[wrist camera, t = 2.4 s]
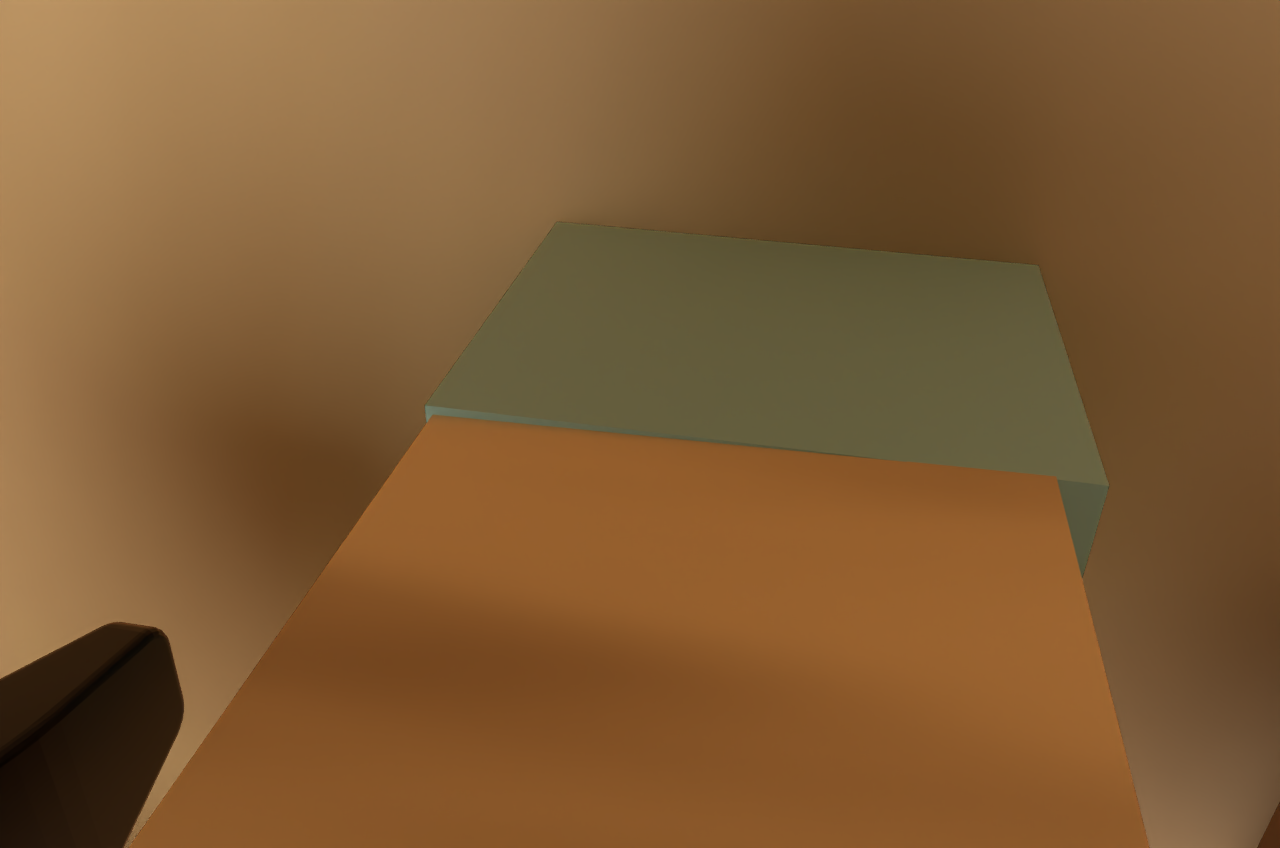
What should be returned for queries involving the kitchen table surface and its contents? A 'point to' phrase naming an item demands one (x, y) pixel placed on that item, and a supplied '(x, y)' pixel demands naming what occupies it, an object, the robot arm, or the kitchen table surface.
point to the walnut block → (1272, 832)
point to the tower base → (787, 355)
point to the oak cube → (674, 661)
